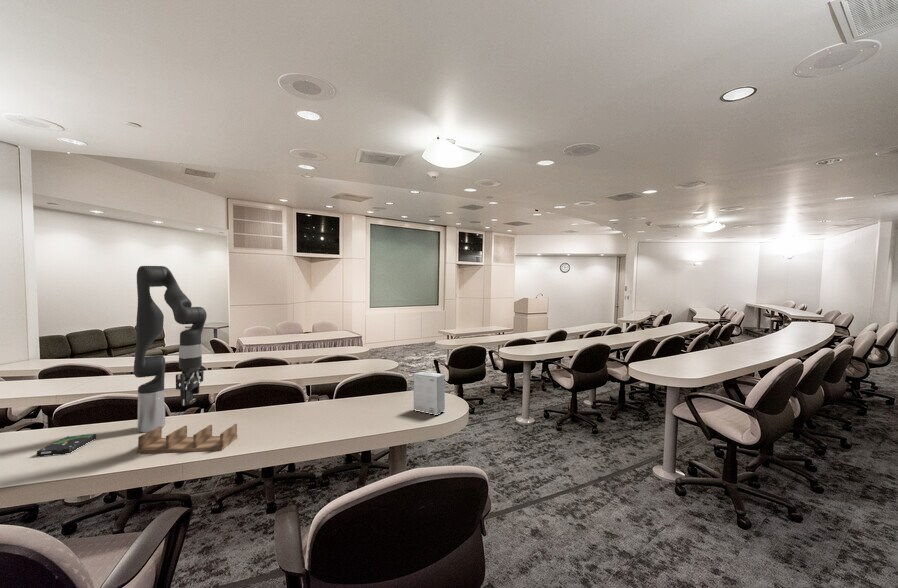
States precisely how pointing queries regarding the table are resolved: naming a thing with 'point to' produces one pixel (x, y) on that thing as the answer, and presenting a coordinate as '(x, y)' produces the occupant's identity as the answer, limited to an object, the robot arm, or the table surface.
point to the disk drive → (66, 445)
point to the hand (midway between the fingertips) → (190, 396)
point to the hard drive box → (429, 392)
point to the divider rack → (185, 440)
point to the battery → (190, 391)
